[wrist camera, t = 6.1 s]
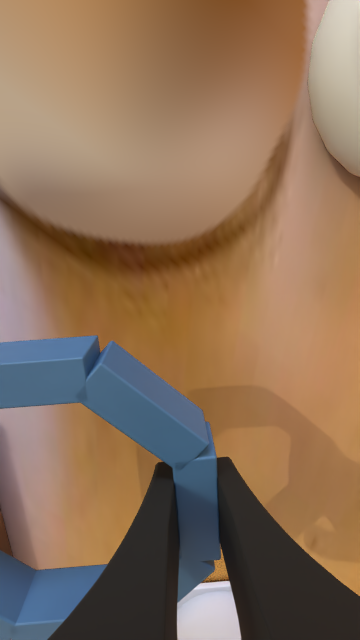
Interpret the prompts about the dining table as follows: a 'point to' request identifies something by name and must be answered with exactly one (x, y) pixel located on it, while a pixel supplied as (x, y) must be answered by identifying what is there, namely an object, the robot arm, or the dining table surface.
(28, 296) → the dining table surface
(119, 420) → the ring
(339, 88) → the donut
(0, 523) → the platform
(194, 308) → the dining table surface
